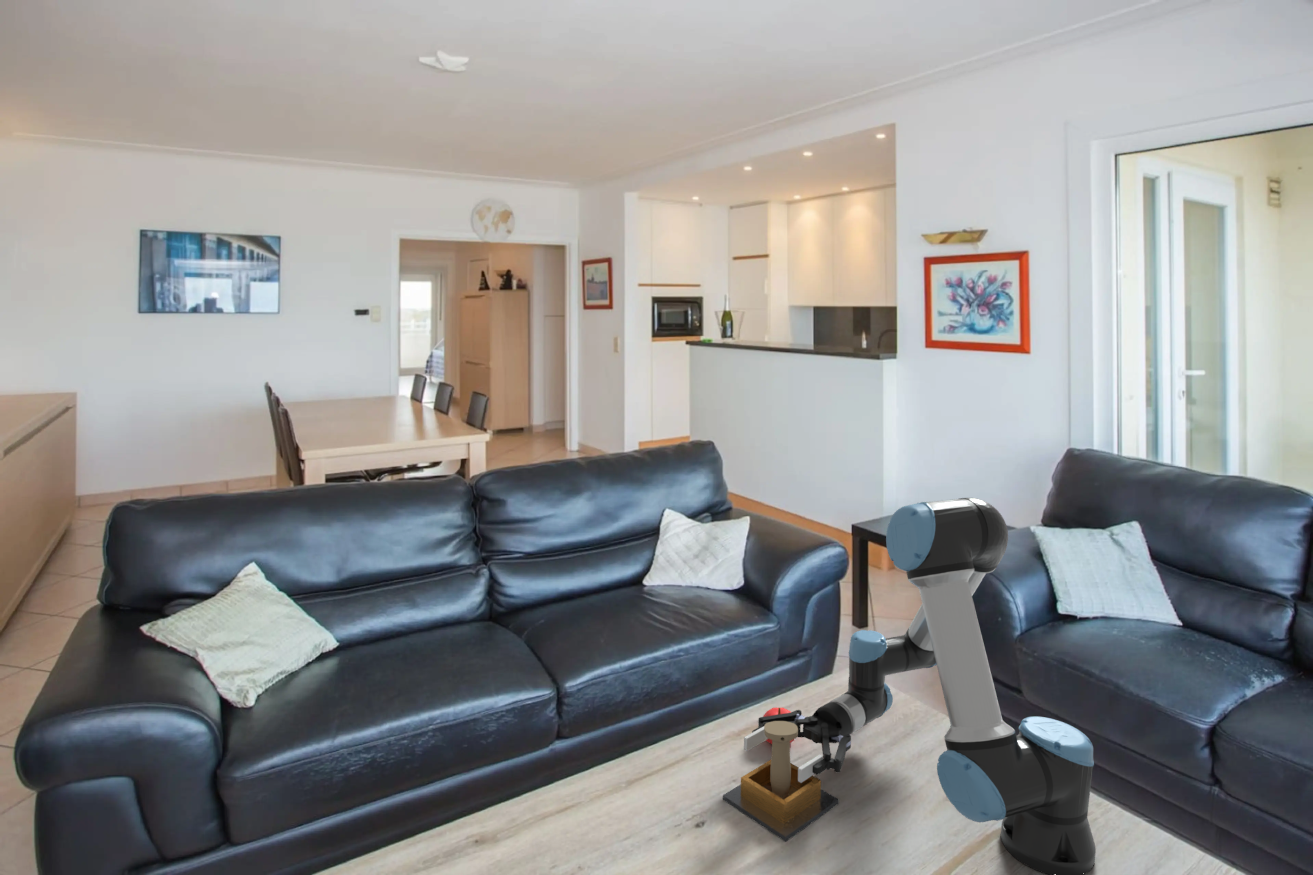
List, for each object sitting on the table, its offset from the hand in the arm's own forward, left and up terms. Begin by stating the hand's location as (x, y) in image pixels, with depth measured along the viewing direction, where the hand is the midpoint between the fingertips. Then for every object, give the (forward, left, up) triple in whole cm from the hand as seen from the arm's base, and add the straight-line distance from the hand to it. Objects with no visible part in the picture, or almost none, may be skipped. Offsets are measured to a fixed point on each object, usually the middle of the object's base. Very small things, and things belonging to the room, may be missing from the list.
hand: (771, 759), depth 149 cm
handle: (0, -3, -10) cm, 10 cm away
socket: (0, -3, -10) cm, 11 cm away
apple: (+14, -19, -11) cm, 26 cm away
